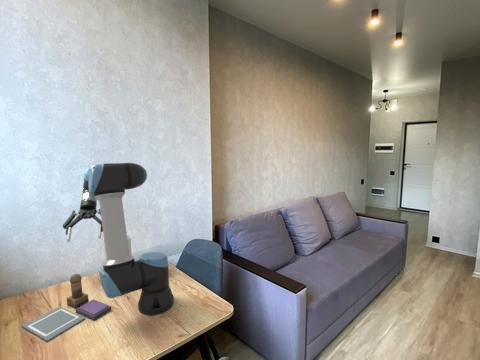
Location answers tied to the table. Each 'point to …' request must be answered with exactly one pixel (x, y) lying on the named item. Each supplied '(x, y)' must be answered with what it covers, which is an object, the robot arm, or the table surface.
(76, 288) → the stamp
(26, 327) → the form board
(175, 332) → the table surface
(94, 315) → the ink pad
